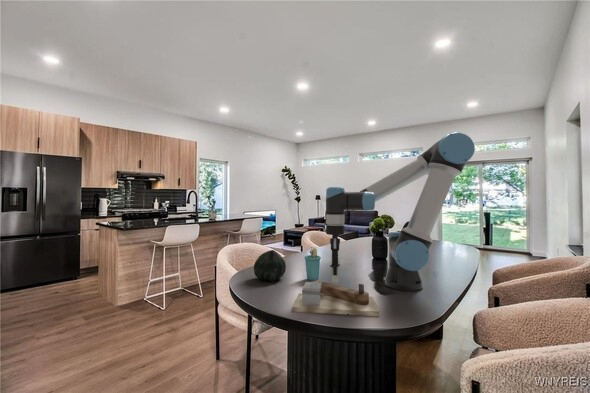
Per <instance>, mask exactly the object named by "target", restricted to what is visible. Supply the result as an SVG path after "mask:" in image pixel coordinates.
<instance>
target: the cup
mask: <svg viewBox="0 0 590 393" xmlns="http://www.w3.org/2000/svg"><path fill="white" fill-rule="evenodd" d="M309 253H310V254H309V255H305V256H304V260H305V268H306V279H307V280H308V281H309V282H313V281H316V280H318V281H319V274H320V265H321V264H320V261H321V258H322V257H321V256H320V255H318V251H317V248H316V247H313V249H310V250H309Z"/></svg>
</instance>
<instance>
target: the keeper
mask: <svg viewBox="0 0 590 393" xmlns="http://www.w3.org/2000/svg"><path fill="white" fill-rule="evenodd" d="M321 287H322V283H318V282H313V281H305V283H304V285H303V287H302V290H301V294H302V306H320V303H321V300H320V294H321V293H320V292H321Z"/></svg>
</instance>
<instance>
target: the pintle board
mask: <svg viewBox="0 0 590 393" xmlns="http://www.w3.org/2000/svg"><path fill="white" fill-rule="evenodd" d="M320 300H321V303H320V306H302V292H300V293H298V294H297V296H296V299H295V301H294V303H293V305H292V312H294V313H296V312H298V313H313V314H314V313H316V314H330V315H331V314H333V315H347V314H349V315H350V316H364V317H365V316H367V317H368V316H369V317H380V309H379V306H378V304H377V302H376V299H375V297H374V296H369V303H368V304H366V305H360V304H356V303H355V302H351V301H348V300H344V299H341V298H337V297H333V296H330V295H326V294H323V293H320ZM349 315H348V316H349Z"/></svg>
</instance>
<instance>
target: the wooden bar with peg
mask: <svg viewBox="0 0 590 393" xmlns="http://www.w3.org/2000/svg"><path fill="white" fill-rule="evenodd" d="M312 282H318V283H322V287H321V292H320V294H324V295H330V296H333V297H337V298H341V299H344V300H348V301H351V302H355V303H356V304H360V305H366V304H368V303H369V297H370V293H369V292H368V291H365V284H364V283H358V290H357V289H354V288H350V287H346V286H341V285H337V284H335V283H329V282H326V281H321V280H319V279H318V280H316V281H312Z"/></svg>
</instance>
